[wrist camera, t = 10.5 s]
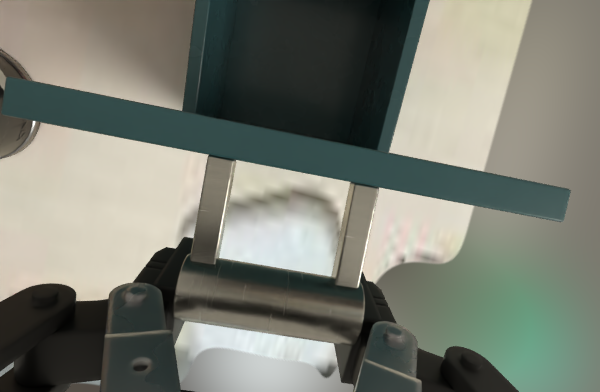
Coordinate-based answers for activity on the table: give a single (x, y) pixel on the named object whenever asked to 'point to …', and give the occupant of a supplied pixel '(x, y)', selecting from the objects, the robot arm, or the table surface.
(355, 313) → the bin lid
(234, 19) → the waste bin
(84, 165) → the table surface
